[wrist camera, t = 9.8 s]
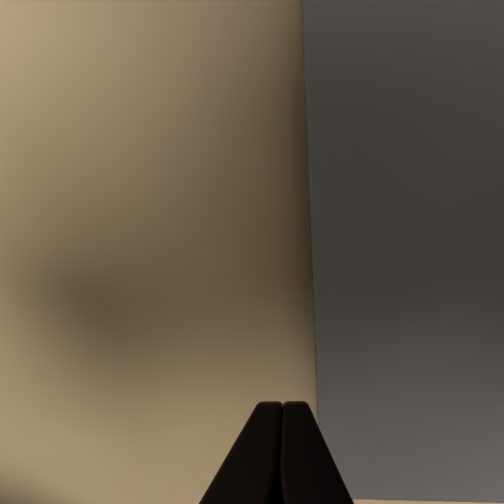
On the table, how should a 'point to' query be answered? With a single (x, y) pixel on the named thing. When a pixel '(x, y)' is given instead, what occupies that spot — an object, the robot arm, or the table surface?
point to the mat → (408, 243)
